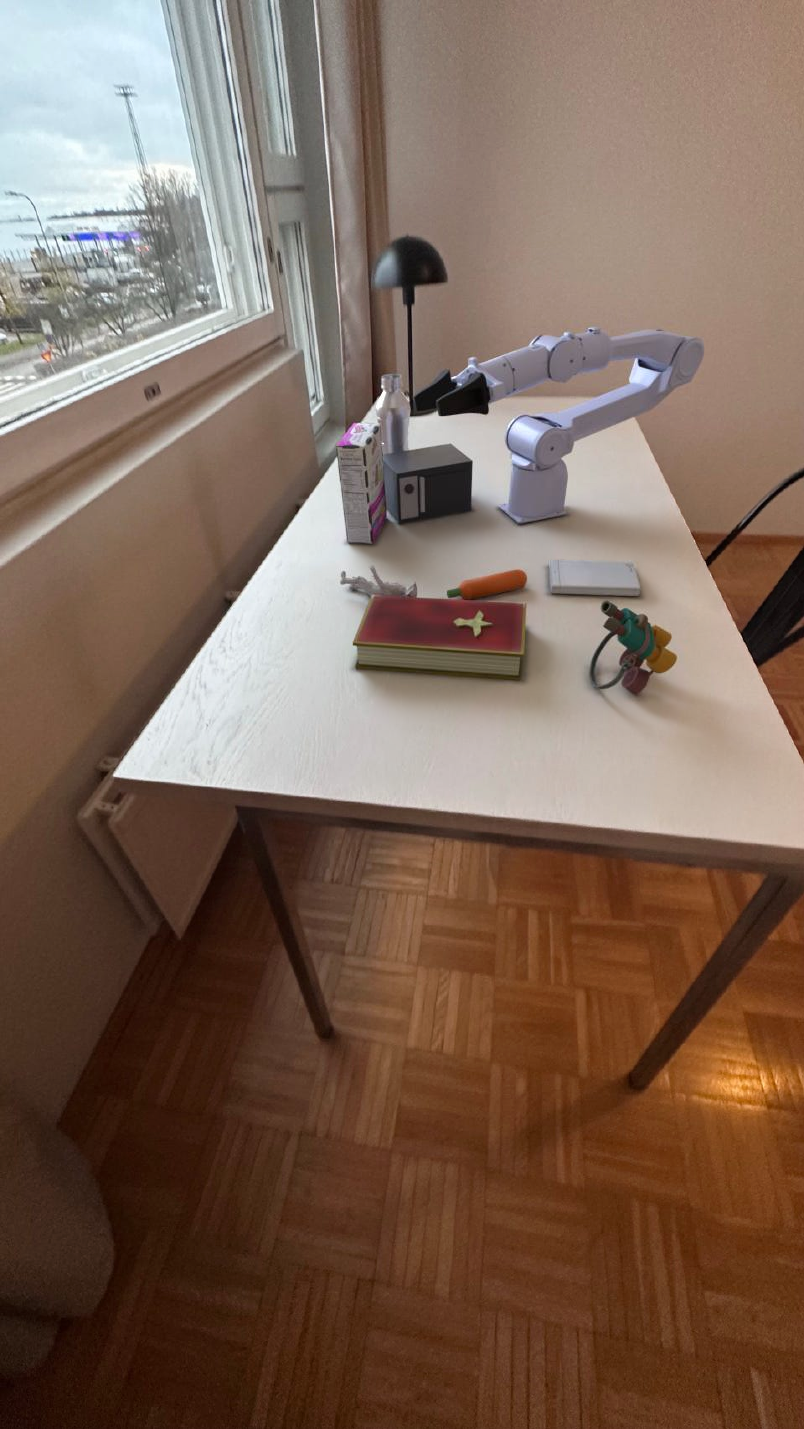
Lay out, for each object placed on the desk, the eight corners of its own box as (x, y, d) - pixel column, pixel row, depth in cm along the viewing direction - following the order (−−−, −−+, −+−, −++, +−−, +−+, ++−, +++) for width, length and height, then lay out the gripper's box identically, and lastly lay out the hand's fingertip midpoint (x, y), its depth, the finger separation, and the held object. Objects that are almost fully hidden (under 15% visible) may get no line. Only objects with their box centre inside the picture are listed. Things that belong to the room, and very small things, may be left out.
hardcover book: (374, 617, 90) (372, 591, 87) (524, 626, 86) (526, 599, 84) (355, 668, 81) (352, 641, 78) (521, 680, 78) (524, 652, 75)
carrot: (520, 581, 96) (522, 564, 94) (529, 589, 94) (531, 573, 92) (444, 598, 93) (444, 581, 91) (451, 607, 91) (451, 590, 89)
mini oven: (473, 512, 115) (474, 462, 109) (400, 526, 112) (398, 475, 106) (450, 491, 123) (450, 443, 117) (381, 503, 120) (378, 455, 114)
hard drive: (633, 560, 96) (550, 558, 97) (641, 588, 90) (552, 584, 91) (631, 570, 97) (548, 567, 99) (638, 598, 91) (550, 594, 92)
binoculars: (620, 717, 75) (687, 664, 69) (560, 679, 73) (622, 621, 66) (615, 670, 82) (674, 617, 75) (559, 634, 80) (615, 577, 73)
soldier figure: (364, 583, 99) (431, 575, 93) (361, 613, 98) (428, 607, 92) (334, 566, 92) (403, 556, 86) (330, 598, 92) (400, 590, 85)
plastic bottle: (374, 492, 124) (367, 380, 111) (388, 479, 128) (382, 371, 115) (405, 496, 122) (401, 382, 109) (417, 483, 126) (415, 372, 113)
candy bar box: (361, 516, 116) (353, 421, 105) (387, 517, 115) (382, 422, 104) (344, 543, 108) (334, 444, 97) (373, 545, 107) (365, 445, 96)
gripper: (474, 346, 100) (399, 374, 97) (527, 349, 89) (444, 380, 86) (481, 394, 104) (409, 422, 101) (532, 402, 93) (453, 433, 90)
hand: (426, 406), depth 94 cm, fingers open, 7 cm apart
